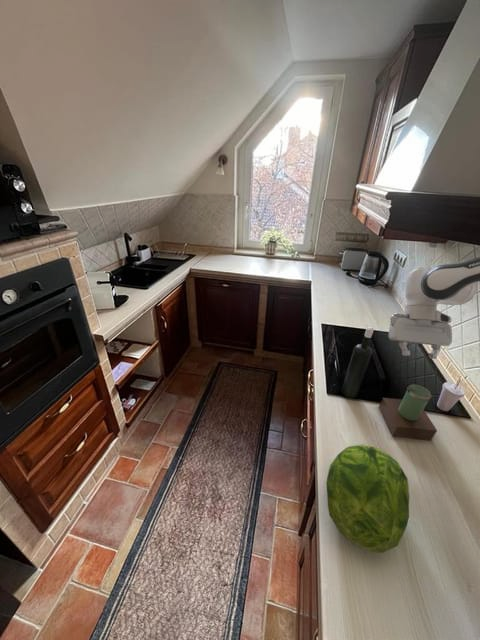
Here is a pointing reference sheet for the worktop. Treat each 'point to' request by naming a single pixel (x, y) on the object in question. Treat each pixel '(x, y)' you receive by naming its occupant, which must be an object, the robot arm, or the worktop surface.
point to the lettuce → (368, 497)
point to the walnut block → (405, 422)
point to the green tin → (414, 402)
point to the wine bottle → (357, 366)
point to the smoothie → (450, 395)
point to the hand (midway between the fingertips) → (419, 357)
